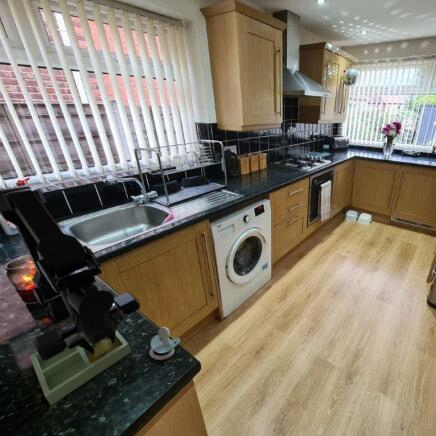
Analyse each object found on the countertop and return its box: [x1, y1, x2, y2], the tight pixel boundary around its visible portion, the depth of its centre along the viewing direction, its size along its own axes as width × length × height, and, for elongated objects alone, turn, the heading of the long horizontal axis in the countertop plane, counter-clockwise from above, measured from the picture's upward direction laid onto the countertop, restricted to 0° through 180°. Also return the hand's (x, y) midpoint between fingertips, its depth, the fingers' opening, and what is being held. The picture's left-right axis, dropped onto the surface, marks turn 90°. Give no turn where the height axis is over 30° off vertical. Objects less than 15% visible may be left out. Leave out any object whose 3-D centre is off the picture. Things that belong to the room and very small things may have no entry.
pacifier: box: [148, 326, 181, 361], centre depth 61 cm, size 7×6×6 cm
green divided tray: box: [29, 329, 132, 406], centre depth 60 cm, size 15×15×3 cm
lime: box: [94, 336, 111, 359], centre depth 59 cm, size 4×5×5 cm
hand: (103, 347), depth 60 cm, fingers closed on lime, 3 cm apart
